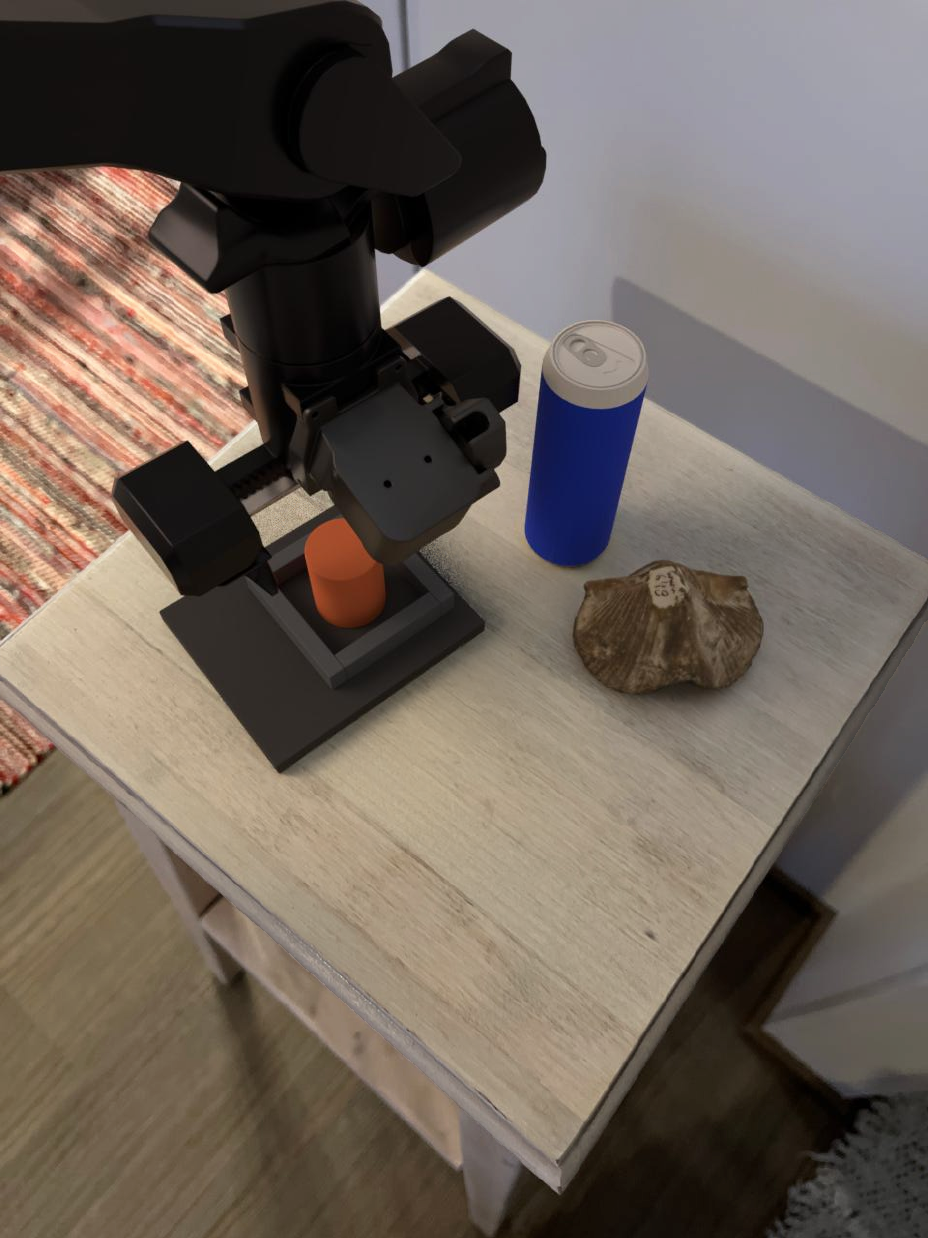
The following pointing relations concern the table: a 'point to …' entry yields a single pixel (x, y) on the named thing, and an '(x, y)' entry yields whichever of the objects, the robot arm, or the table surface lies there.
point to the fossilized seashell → (667, 629)
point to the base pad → (316, 646)
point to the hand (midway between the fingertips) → (344, 542)
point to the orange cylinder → (344, 576)
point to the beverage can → (583, 439)
